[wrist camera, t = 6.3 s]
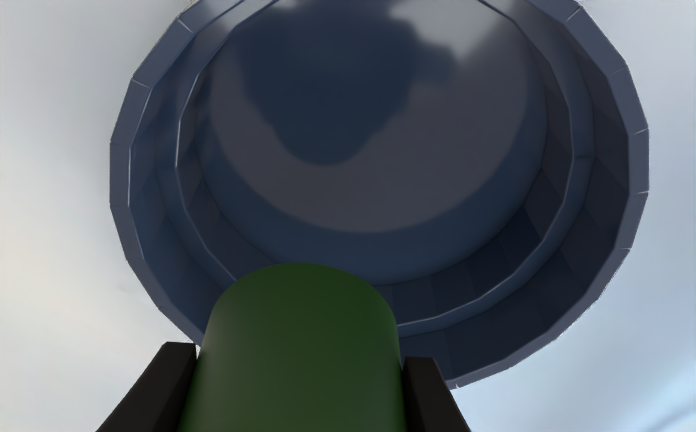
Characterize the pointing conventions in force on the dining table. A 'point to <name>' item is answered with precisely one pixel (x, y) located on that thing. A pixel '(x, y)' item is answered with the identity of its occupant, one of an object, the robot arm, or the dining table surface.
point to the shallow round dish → (387, 164)
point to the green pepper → (298, 357)
